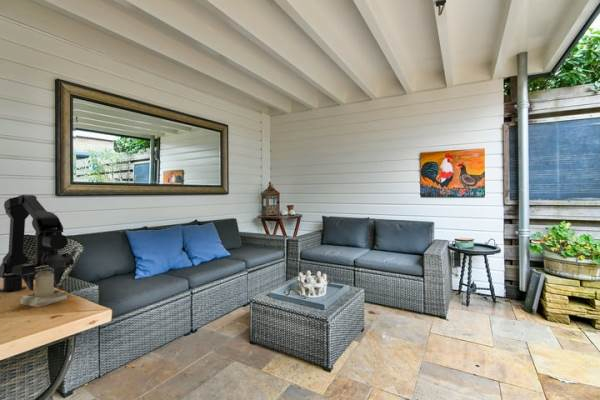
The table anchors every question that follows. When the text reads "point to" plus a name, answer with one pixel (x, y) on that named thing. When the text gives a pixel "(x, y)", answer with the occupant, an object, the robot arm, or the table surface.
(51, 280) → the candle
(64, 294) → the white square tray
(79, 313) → the table surface
